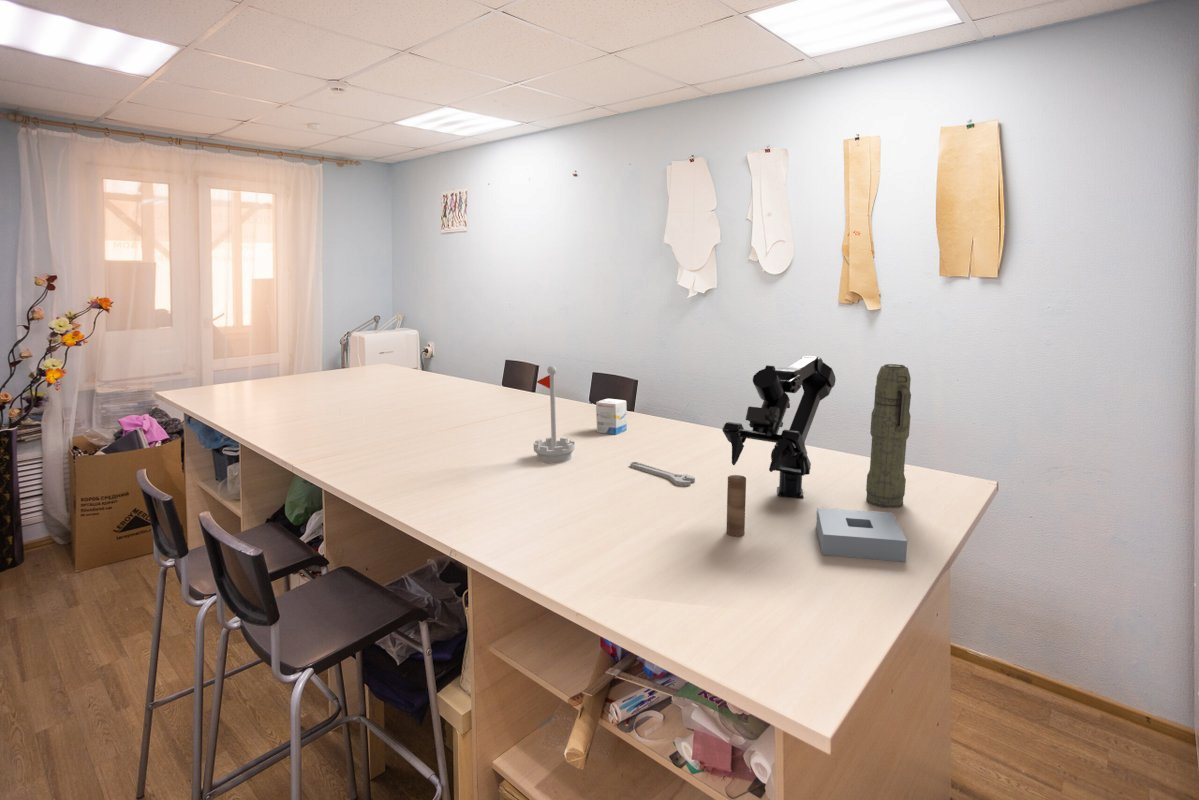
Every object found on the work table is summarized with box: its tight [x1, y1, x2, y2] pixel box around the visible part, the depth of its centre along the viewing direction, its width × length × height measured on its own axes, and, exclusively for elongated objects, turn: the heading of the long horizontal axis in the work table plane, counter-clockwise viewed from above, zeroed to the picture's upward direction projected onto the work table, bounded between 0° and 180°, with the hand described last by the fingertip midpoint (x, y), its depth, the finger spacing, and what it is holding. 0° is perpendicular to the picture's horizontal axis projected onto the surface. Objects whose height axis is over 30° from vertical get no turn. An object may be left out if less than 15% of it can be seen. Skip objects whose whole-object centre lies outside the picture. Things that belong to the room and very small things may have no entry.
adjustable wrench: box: [630, 461, 696, 487], centre depth 190 cm, size 25×6×2 cm, turn 35°
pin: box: [725, 474, 747, 537], centre depth 145 cm, size 4×4×13 cm
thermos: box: [865, 363, 912, 509], centre depth 161 cm, size 9×12×35 cm
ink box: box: [595, 398, 628, 435], centre depth 242 cm, size 9×8×12 cm
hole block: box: [815, 507, 908, 563], centre depth 140 cm, size 16×16×4 cm
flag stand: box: [533, 365, 576, 464], centre depth 206 cm, size 13×13×30 cm
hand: (751, 467), depth 150 cm, fingers open, 9 cm apart
